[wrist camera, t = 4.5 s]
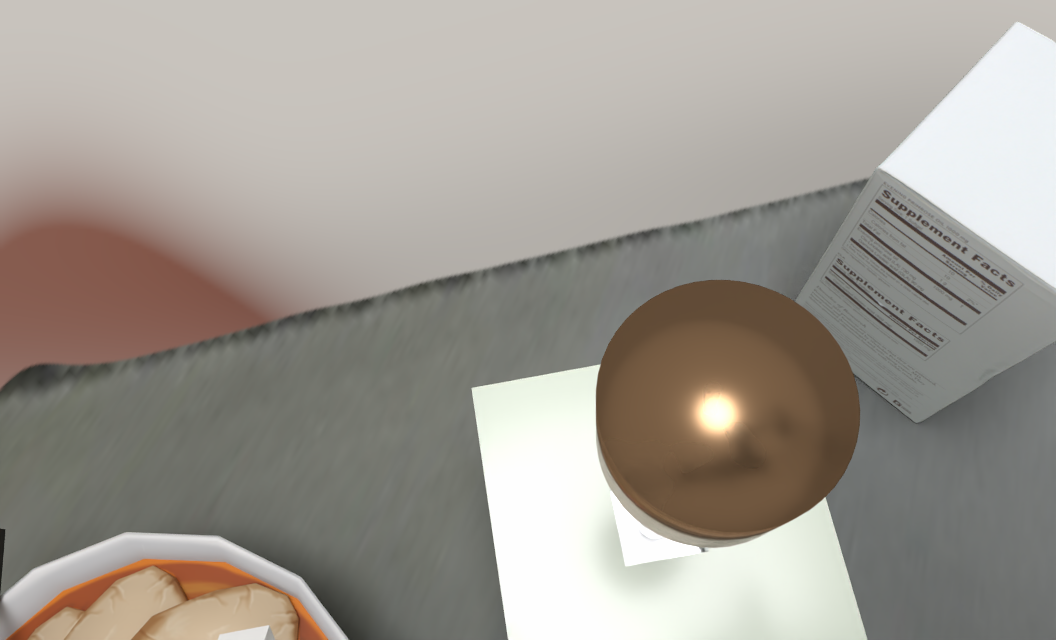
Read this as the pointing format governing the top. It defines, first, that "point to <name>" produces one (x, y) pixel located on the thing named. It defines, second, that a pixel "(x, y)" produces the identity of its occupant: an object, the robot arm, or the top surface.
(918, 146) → the supplement box
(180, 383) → the top surface
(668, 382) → the plunger
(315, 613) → the ramen bowl
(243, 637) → the robot arm
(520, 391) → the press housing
